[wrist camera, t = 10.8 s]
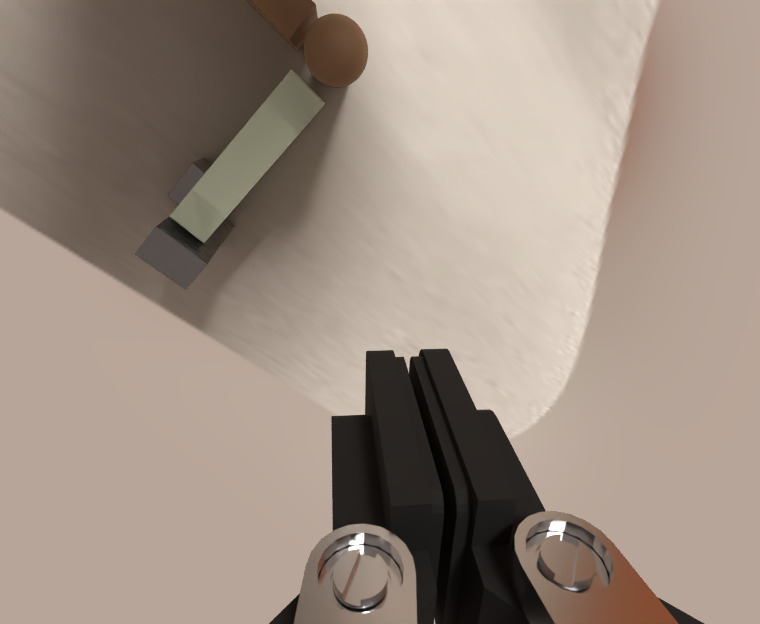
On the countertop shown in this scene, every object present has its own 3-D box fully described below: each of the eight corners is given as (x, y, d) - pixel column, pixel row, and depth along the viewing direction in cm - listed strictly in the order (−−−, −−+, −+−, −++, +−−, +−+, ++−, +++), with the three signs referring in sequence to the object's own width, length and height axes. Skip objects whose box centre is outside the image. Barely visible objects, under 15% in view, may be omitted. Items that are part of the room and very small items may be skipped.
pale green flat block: (298, 75, 26) (290, 69, 21) (325, 102, 27) (324, 104, 21) (199, 193, 28) (169, 215, 23) (226, 216, 29) (204, 243, 24)
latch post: (202, 158, 28) (162, 177, 21) (255, 201, 29) (233, 232, 22) (165, 206, 29) (115, 240, 22) (217, 246, 30) (185, 289, 23)
